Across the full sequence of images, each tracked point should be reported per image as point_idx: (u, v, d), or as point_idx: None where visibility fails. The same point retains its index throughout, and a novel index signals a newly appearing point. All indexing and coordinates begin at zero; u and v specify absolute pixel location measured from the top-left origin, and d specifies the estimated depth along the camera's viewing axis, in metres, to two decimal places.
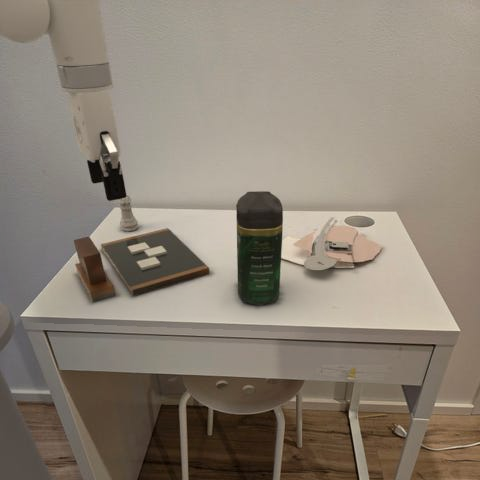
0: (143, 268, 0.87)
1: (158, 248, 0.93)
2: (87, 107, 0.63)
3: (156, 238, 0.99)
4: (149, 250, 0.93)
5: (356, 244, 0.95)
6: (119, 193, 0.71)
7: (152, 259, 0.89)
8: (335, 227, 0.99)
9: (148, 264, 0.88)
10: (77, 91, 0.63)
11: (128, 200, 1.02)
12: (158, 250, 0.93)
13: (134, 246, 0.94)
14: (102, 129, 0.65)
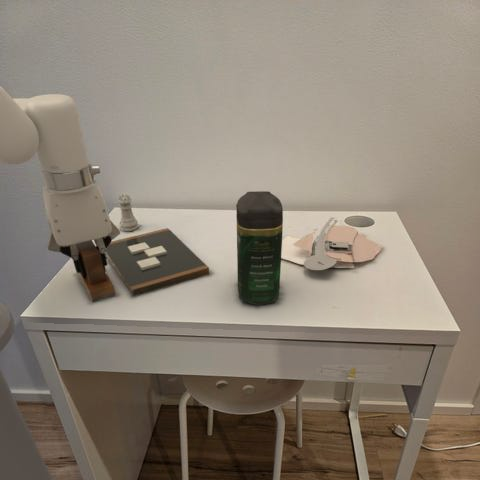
0: (143, 268, 0.87)
1: (158, 248, 0.93)
2: None
3: (156, 238, 0.99)
4: (149, 250, 0.93)
5: (356, 244, 0.95)
6: (76, 271, 0.82)
7: (152, 259, 0.89)
8: (335, 227, 0.99)
9: (148, 264, 0.88)
10: None
11: (128, 200, 1.02)
12: (158, 250, 0.93)
13: (134, 246, 0.94)
14: (48, 218, 0.75)
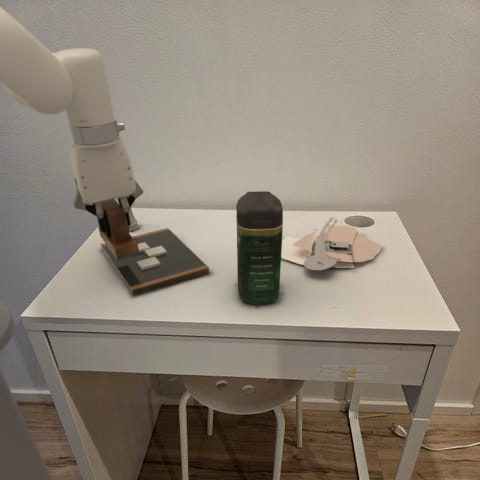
0: (143, 268, 0.87)
1: (158, 248, 0.93)
2: (70, 155, 0.76)
3: (156, 238, 0.99)
4: (149, 250, 0.93)
5: (356, 244, 0.95)
6: (101, 231, 0.84)
7: (152, 259, 0.89)
8: (335, 227, 0.99)
9: (148, 264, 0.88)
10: None
11: None
12: (158, 250, 0.93)
13: None
14: (74, 175, 0.77)
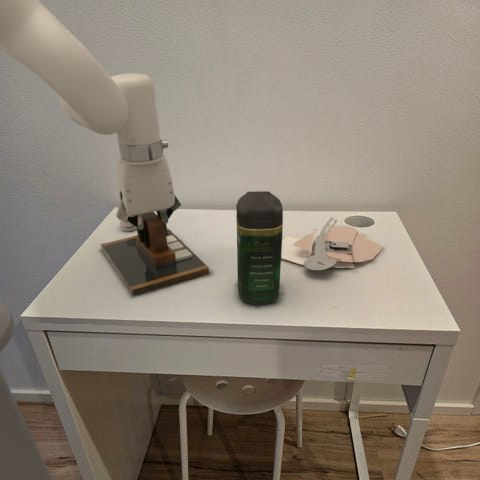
0: (176, 259, 0.90)
1: (175, 243, 0.95)
2: None
3: None
4: None
5: (356, 244, 0.95)
6: (140, 241, 0.89)
7: (184, 251, 0.92)
8: (335, 227, 0.99)
9: (180, 256, 0.90)
10: None
11: None
12: (176, 245, 0.94)
13: None
14: (120, 189, 0.82)
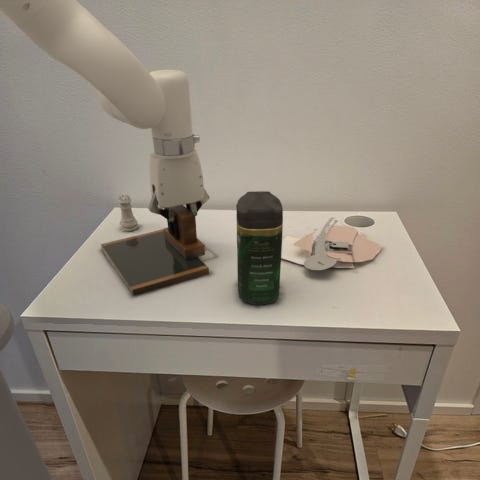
0: None
1: None
2: None
3: (156, 238, 0.99)
4: None
5: (356, 244, 0.95)
6: (170, 233, 0.91)
7: (206, 252, 0.95)
8: (335, 227, 0.99)
9: (204, 257, 0.93)
10: None
11: (128, 200, 1.02)
12: None
13: None
14: (152, 182, 0.84)
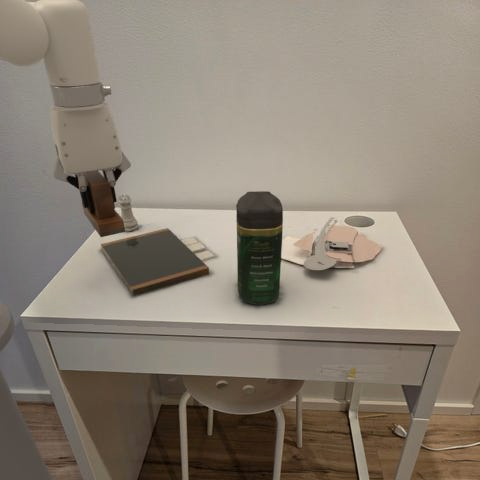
0: None
1: (197, 244, 0.98)
2: None
3: (156, 238, 0.99)
4: (189, 246, 0.97)
5: (356, 244, 0.95)
6: (84, 206, 0.77)
7: (206, 252, 0.95)
8: (335, 227, 0.99)
9: (204, 257, 0.93)
10: None
11: (128, 200, 1.02)
12: (197, 246, 0.97)
13: (183, 240, 1.00)
14: (55, 142, 0.70)
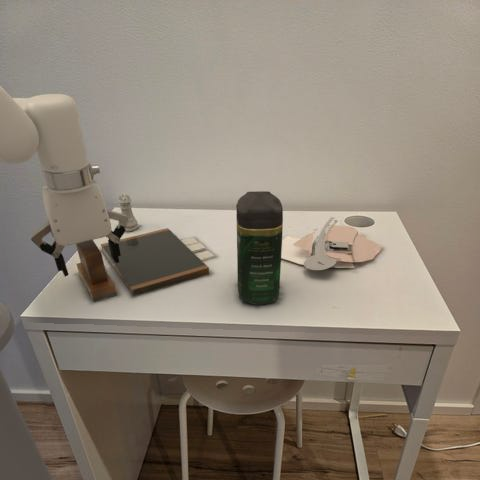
0: None
1: (197, 244, 0.98)
2: None
3: (156, 238, 0.99)
4: (189, 246, 0.97)
5: (356, 244, 0.95)
6: (58, 269, 0.80)
7: (206, 252, 0.95)
8: (335, 227, 0.99)
9: (204, 257, 0.93)
10: None
11: (128, 200, 1.02)
12: (197, 246, 0.97)
13: (183, 240, 1.00)
14: (47, 218, 0.75)
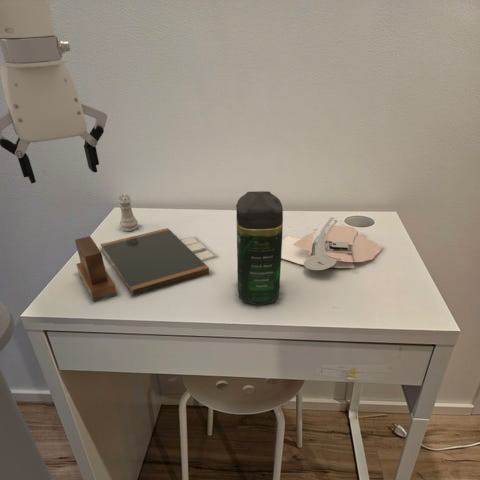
0: None
1: (197, 244, 0.98)
2: None
3: (156, 238, 0.99)
4: (189, 246, 0.97)
5: (356, 244, 0.95)
6: (23, 175, 0.68)
7: (206, 252, 0.95)
8: (335, 227, 0.99)
9: (204, 257, 0.93)
10: None
11: (128, 200, 1.02)
12: (197, 246, 0.97)
13: (183, 240, 1.00)
14: (7, 105, 0.63)
